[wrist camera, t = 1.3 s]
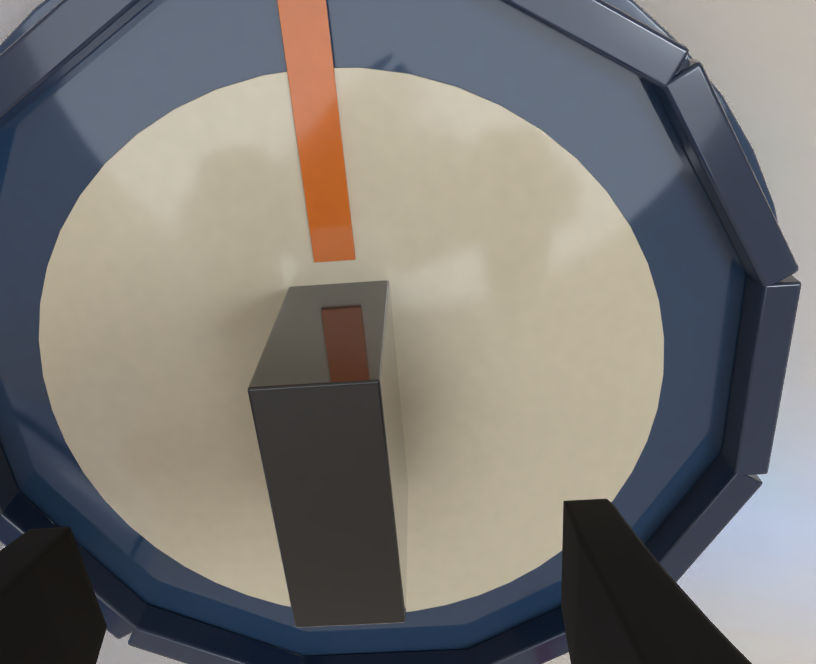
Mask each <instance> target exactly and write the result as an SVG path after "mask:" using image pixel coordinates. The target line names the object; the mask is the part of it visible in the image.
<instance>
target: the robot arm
mask: <svg viewBox="0 0 816 664" xmlns="http://www.w3.org/2000/svg"><path fill="white" fill-rule="evenodd" d="M561 608H562V614H563V620H564V626H565V632H566V638H567V643H568V649H569V654H570V660H571V664H752V663H751V662H750V661H749V660H748V659H747V658H746V657H745V656H744V655H743V654H742V653H741V652H740V651H739V650H738V649H737V648H736V647H735V646H734V645H733V644H732V643H731V642H730V641H729V640H728V639H727V638H726V637H725V636H724V635H723V634H722V633H721V632H720V631H719V630H718V628H717V627H716V626H715V625H714V624H713V623H712V622H711V621H710V620H709V619H708V618H707V617H706V615H705V614H704V613H703V612H702V611H701V610H700V609H699V608H698V607H697V605H696V604H695V603H694V602H693V601H692V600H691V599H690V598H689V597H688V595H687V594H686V593H685V592H684V591H683V590H682V589H681V588H680V587H679V585H678V584H677V583H676V582H675V581H674V580H673V578H672V577H671V576H670V575H669V574H668V573H667V571H666V570H665V569H664V568H663V567H662V565H661V564H660V563H659V562H658V561H657V559H656V558H655V557H654V556H653V554H652V553H651V552H650V551H649V550H648V548H647V547H646V546H645V545H644V543H643V542H642V541H641V540H640V538H639V537H638V536H637V535H636V533H635V532H634V531H633V529H632V528H631V527H630V526H629V524H628V523H627V522H626V520H625V519H624V518H623V516H622V515H621V514H620V512H619V511H618V510H617V508H616V507H615V505H614V504H612V503H611V502H610V501H609V500H608V499H588V500H569V501H563V542H562V584H561ZM106 628H107V625H106V622H105V620H104V617H103V614H102V611H101V609H100V606H99V603H98V601H97V598H96V595H95V592H94V590H93V587H92V584H91V581H90V579H89V576H88V573H87V571H86V568H85V565H84V562H83V560H82V557H81V554H80V551H79V549H78V546H77V543H76V541H75V538H74V535H73V532H72V530H71V527H55V528H36V529H29V530H28V531H27V532H25V533H24V534H22V535H21V536H20V537H18V538H17V539H15V540H14V541H13V542H11V543H10V544H9V545H7V546H6V547H5V548H4V549H2V550H1V551H0V664H96V662H97V658H98V655H99V652H100V648H101V645H102V642H103V638H104V635H105V632H106Z"/></svg>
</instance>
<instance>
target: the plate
mask: <svg viewBox="0 0 816 664" xmlns="http://www.w3.org/2000/svg"><path fill="white" fill-rule="evenodd" d="M688 51H689V50H688V48H687V47H686V46H684V45H682V44H680V43H679V42H678V41H677V40H676V39H675V38H674V37H672V36H671V35H670V34H669V33H668V32H667V31H666V30H665V29H664V28H663V27H662V26H661V25H659V24H658V23H657V22H656V21H655V20H654V19H653V18H652V17H651V16H650V15H649V14H647V13H646V12H645V11H644V10H643V9H642V8H641V7H640V6H639V5H638V4H637V3H636V2H634V1H633V0H45V1H44V2H42V3H41V4H40V5H38V6H37V7H36V8H35V9H34V10H33V11H32V12H31V13H30V14H29V15H28V16H27V17H26V19H25V20H24V21H23V22H22V23H21V24H20V25H19V26H18V27H17V28H16V29H15V30H14V31H13V32H12V33H11V34H10V35H9V36H8V37H7V39H6V40H5V41H4V42H3V43H2V44H1V45H0V541H1V542H2V543H3V544H4V545H5V546H7V545H9V544H10V543H11V542H13V541H14V540H15V539H17V538H18V537H20V536H21V535H22V534H24V533H25V532H27V531H28V530H29V529H36V528H55V527H71V530H72V532H73V535H74V538H75V541H76V543H77V546H78V549H79V551H80V554H81V557H82V560H83V562H84V565H85V568H86V571H87V573H88V576H89V579H90V581H91V584H92V587H93V590H94V592H95V595H96V598H97V601H98V603H99V606H100V609H101V611H102V614H103V617H104V620H105V622H106V625H107V628H106V630H108V631H109V632H110V633H111V634H112V635H114V636H115V637H116V638H118V639H121V638H122V637H124V636H126V635H128V634H130V633H132V634H131V636H130V638H129V640H128V644H129V645H130V646H133V647H136V648H139V649H143V650H146V651H149V652H152V653H155V654H158V655H161V656H164V657H167V658H170V659H174V660H177V661H180V662H183V663H186V664H543V663H545V662H547V661H550V660H552V659H554V658H557V657H559V656H561V655H563V654H566V653H568V652H569V649H568V643H567V638H566V632H565V626H564V620H563V614H562V608H561V584H562V542H563V501H569V500H588V499H608V500H609V501H610V502H611V503H612V504H614V505H615V507H616V508H617V510H618V511H619V512H620V514H621V515H622V516H623V518H624V519H625V520H626V522H627V523H628V524H629V526H630V527H631V528H632V529H633V531H634V532H635V533H636V535H637V536H638V537H639V538H640V540H641V541H642V542H643V543H644V545H645V546H646V547H647V548H648V550H649V551H650V552H651V553H652V554H653V556H654V557H655V558H656V559H657V561H658V562H659V563H660V564H661V565H662V567H663V568H664V569H665V570H666V571H667V573H668V574H669V575H670V576H671V577H672V578H673V580H674V581H675V582H677V581H678V580H679V579H680V577H681V576H682V575H683V574H684V573H685V572H686V571H687V569H688V568H689V567H690V566H691V565H692V564H693V563H694V561H695V560H696V559H697V558H698V557H699V556H700V555H701V553H702V552H703V551H704V550H705V549H706V548H707V547H708V545H709V544H710V543H711V542H712V541H713V540H714V539H715V537H716V536H717V535H718V534H719V533H720V532H721V531H722V529H723V528H724V527H725V526H726V525H727V524H728V523H729V521H730V520H731V519H732V518H733V517H734V516H735V515H736V513H737V512H738V511H739V510H740V509H741V508H742V507H743V505H744V504H745V503H746V502H747V501H748V500H749V499H750V498H751V496H752V495H753V494H754V493H755V492H756V491H757V490H758V488H759V487H760V486H761V485H762V481H761V480H760V478H759V477H758V475H757V474H767V472H768V468H769V462H770V456H771V451H772V445H773V440H774V434H775V429H776V423H777V417H778V412H779V406H780V401H781V395H782V390H783V384H784V378H785V373H786V367H787V362H788V356H789V350H790V345H791V339H792V334H793V328H794V323H795V317H796V311H797V306H798V300H799V295H800V289H801V282H800V281H799V280H797V279H796V278H795V277H794V276H792V274H794V273H796V272H797V271H798V265H797V263H796V261H795V259H794V257H793V254H792V252H791V250H790V248H789V246H788V244H787V242H786V240H785V238H784V235H783V233H782V231H781V229H780V227H779V225H778V221H777V216H776V212H775V207H774V203H773V200H772V198H771V195H770V192H769V190H768V187H767V185H766V182H765V179H764V177H763V174H762V171H761V169H760V166H759V163H758V161H757V158H756V155H755V153H754V150H753V148H752V146H751V145H750V143H749V141H748V139H747V138H746V136H745V134H744V132H743V131H742V129H741V127H740V125H739V124H738V122H737V120H736V118H735V117H734V115H733V113H732V111H731V110H730V108H729V106H728V104H727V103H726V101H725V99H724V97H723V96H722V95H721V93H720V92H719V91H718V90H717V88H716V87H715V86H714V84H713V83H712V82H711V81H710V79H709V78H708V75H707V73H706V71H705V69H704V67H703V65H702V63H700V62H699V61H696V60H694V59H693V58H692V57H691V56H690V54H689V53H688Z"/></svg>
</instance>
